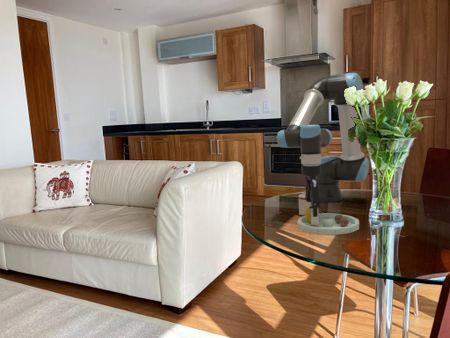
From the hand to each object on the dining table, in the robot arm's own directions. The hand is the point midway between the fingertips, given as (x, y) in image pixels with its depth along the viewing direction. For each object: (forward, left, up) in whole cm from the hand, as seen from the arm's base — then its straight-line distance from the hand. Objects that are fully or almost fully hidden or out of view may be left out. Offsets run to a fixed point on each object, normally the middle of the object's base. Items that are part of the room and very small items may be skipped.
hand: (312, 220), depth 143 cm
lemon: (0, 0, -2) cm, 2 cm away
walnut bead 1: (-10, +6, -2) cm, 12 cm away
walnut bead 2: (-7, +9, -2) cm, 12 cm away
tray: (-4, +4, -3) cm, 7 cm away
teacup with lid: (-17, -14, -3) cm, 22 cm away
